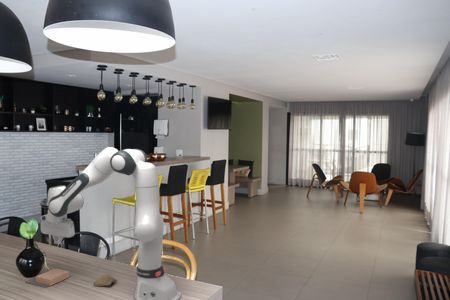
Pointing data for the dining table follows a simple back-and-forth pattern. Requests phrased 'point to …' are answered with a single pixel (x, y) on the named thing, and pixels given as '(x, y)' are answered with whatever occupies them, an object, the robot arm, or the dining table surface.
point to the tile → (52, 276)
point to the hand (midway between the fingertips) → (57, 243)
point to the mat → (37, 283)
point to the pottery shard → (104, 280)
